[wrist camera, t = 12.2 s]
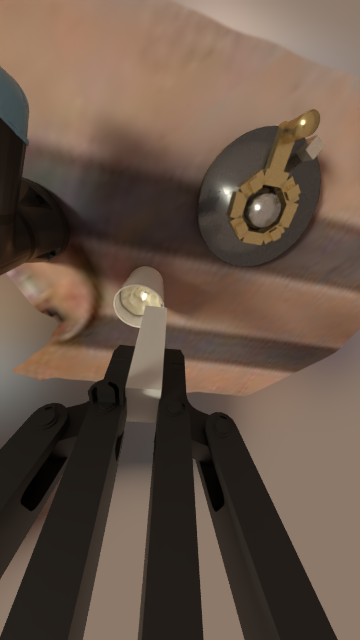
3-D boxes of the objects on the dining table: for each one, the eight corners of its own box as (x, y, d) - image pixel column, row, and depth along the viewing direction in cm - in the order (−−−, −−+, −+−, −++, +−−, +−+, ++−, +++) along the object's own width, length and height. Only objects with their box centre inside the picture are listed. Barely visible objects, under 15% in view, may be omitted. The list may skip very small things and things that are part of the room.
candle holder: (174, 288, 48) (173, 315, 38) (142, 305, 51) (134, 334, 41) (151, 254, 43) (145, 275, 33) (117, 275, 46) (102, 299, 36)
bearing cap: (188, 254, 43) (190, 265, 37) (211, 117, 31) (219, 101, 25) (279, 267, 45) (294, 279, 40) (335, 144, 33) (369, 136, 27)
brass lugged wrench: (272, 244, 39) (289, 254, 33) (220, 235, 38) (229, 244, 32) (319, 133, 30) (355, 120, 24) (252, 116, 28) (272, 98, 22)
